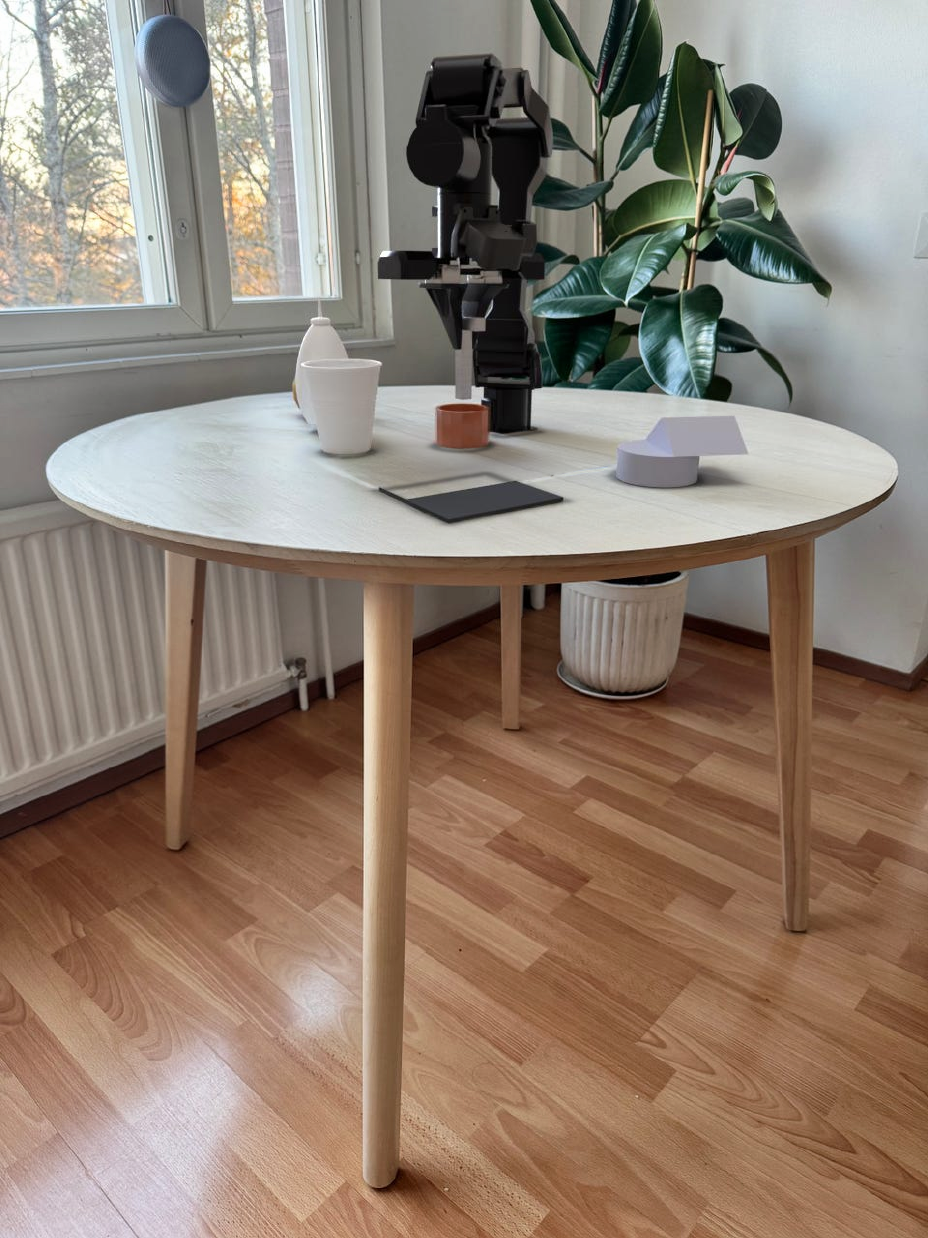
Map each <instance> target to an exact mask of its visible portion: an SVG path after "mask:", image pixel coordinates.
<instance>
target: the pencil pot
mask: <svg viewBox="0 0 928 1238" xmlns="http://www.w3.org/2000/svg"><path fill="white" fill-rule="evenodd" d="M489 420H490V408H489V407H488V406H485V405H481V403H480V404H479V403H466V402H463V403H462V402H460V403H459V402H457V403H444V404H439V405H437V406H435V407H434V439H435V440H434V443H435V445H436V446H438V447H442V448H446V449H447V448H448V449H476V448H482V447H486V446H488V445H489V444H490V431H489Z"/></svg>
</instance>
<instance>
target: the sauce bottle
mask: <svg viewBox="0 0 928 1238" xmlns="http://www.w3.org/2000/svg"><path fill="white" fill-rule="evenodd" d="M317 314H318V316H317V317H313V318H311V319H310V324H311V325H310V327H308V329H307V330H306V332H305V335H304V337H303V339H302V341H301V344H300V348H299V351H298V356H297V360H296V366H295V376H296V377H295V376H294V379H295V383H296V394H297V400H298V403H299V407H300V409H301V410H300V409H299V410H300V412H301V413H302V416H303V418H304V419H305V421H306V422H307V424H308V425H310V426H313V427H314V430H315V431H317V432H318V429H317V424H316V420H315V416H314V412H313V408H312V404H311V400H310V396H309V392H308V387H307V383H306V379H305V374H304V370H303V368H302V367H301V364H302V363H304V362H307V361H313V360H322V359H350V358H349V355H348V352H347V350H346V348H345V345H344V343H343V341H342V339H341V337H340V336H339V334H338V332H337V331H336V330H335V328H334V327H333V326H332V325H331V323H332V322H331V318H329V317H323V310H322V302H321V298H320V297H318V299H317Z"/></svg>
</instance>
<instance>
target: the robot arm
mask: <svg viewBox="0 0 928 1238" xmlns="http://www.w3.org/2000/svg"><path fill="white" fill-rule="evenodd" d="M502 64H503V63H502V61H501V60H500V59H499V58H497V56H495V54H494V53H491V52H490V53H477V54H476V53H475V54H461V55H445V56H443V55H442V56H435V57H434V58H433V59H432V60H431V62H430V67H431V69H430V70H429V69H428V70H427V71H426V73H425V76H424V80H423V85H422V90H421V93H420V98H419V103H418V107H417V111H416V116H415V126H416V127H415V128H414V129H413V130H412V132H411V134H410V136H409V138H408V142H407V145H406V148H405V149H406V150H405V155H406V162H407V165H408V168H409V171H410V172H411V173H412V176H414V178H415V179H417V181H418V182H420V183H422V184H424V185H426V186H429V187H433V188H436V189H437V205H432V206H431V209H430V210H431V218H437V247H431V250H383V251H382V252H381V254H380V256H379V258H378V260H377V265H376V267H377V280H395V281H396V280H398V281H399V280H403V281H404V280H405V281H406V280H408V281H411V280H412V281H413V280H414V281H415V280H416V281H419V280H420V281H424V282H418V288H419V289H425V290H426V292H427V295H428V297H429V298H430V300H431V301H432V302H431V303H433V305H434V307H435V310H436V312H437V313H438V315H439V318H440V320H441V321H442V325H443V327H444V330H445V332H446V335H447V337H448V339H449V342H450V344H451V346H452V349H453V350H460V349H461V345H462V316H472V317H484V318H485V331H472V369H473V378H474V387H475V388H479V389H480V388H483V397H481V400H480V405H485V406H488V407H489V408H490V420H489V432H493V433H496V434H501V435H506V434H514V433H521V432H529V431H535V430H536V431H537V430H538V427H536V426H532V402H533V400H532V398H533V391H535V390H538V389H539V390H540V389H542V388H543V381H544V380H543V365H542V357H541V354H540V353H539V349H538V344H537V343H535V340H536V336H535V335H536V333H535V331H534V329H533V326H532V323H530V320H529V318H528V316H527V314H526V296H527V283H528V281H529V280H530V281H531V280H533V281H535V280H536V281H537V280H539V281H541V280H542V281H545V280H546V267H547V264H546V261H545V259H544V257H543V256H542V254H541V252H536V248H537V244H538V234H537V233H538V230H537V224H536V223H535V222H533V221H532V210H533V199H534V195H535V194H536V192H537V190H538V189H539V187H540V186H541V184H542V182H544V179H545V178H546V176H547V171H548V170H547V169H548V160H549V159H550V158H551V157H552V155H553V149H554V133H553V126H552V119H551V113H550V107H549V105H548V104H547V103H546V102H545V100H544V99H543V98H542V97H541V96H540V95H539V93H538V92H537V91H536V90H535V89H534V88H533V86H532V81H531V75H530V71H529V69H524V68H523V67H522V66H521V67H508V68H507V67H505V68H503V67H502V66H503V65H502ZM515 108H517V109H518V108H522V111H523V113H524V115H525V116H523V117H522V116H521V117H502V114H503V110H504V109H515ZM492 179H493V181H494V183H495V186H496V187H497V190H498V191H497V192H498V193H497V195H498V196H497V205H496V204H492V183H493V182H492ZM457 260H458V264H451V262H454V261H455V262H456V261H457ZM470 262H476V264H471V263H470ZM461 276H467V282H461ZM490 305H491V308H490ZM489 308H490V309H489ZM488 310H489V311H488ZM527 378H529V379H527Z"/></svg>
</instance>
